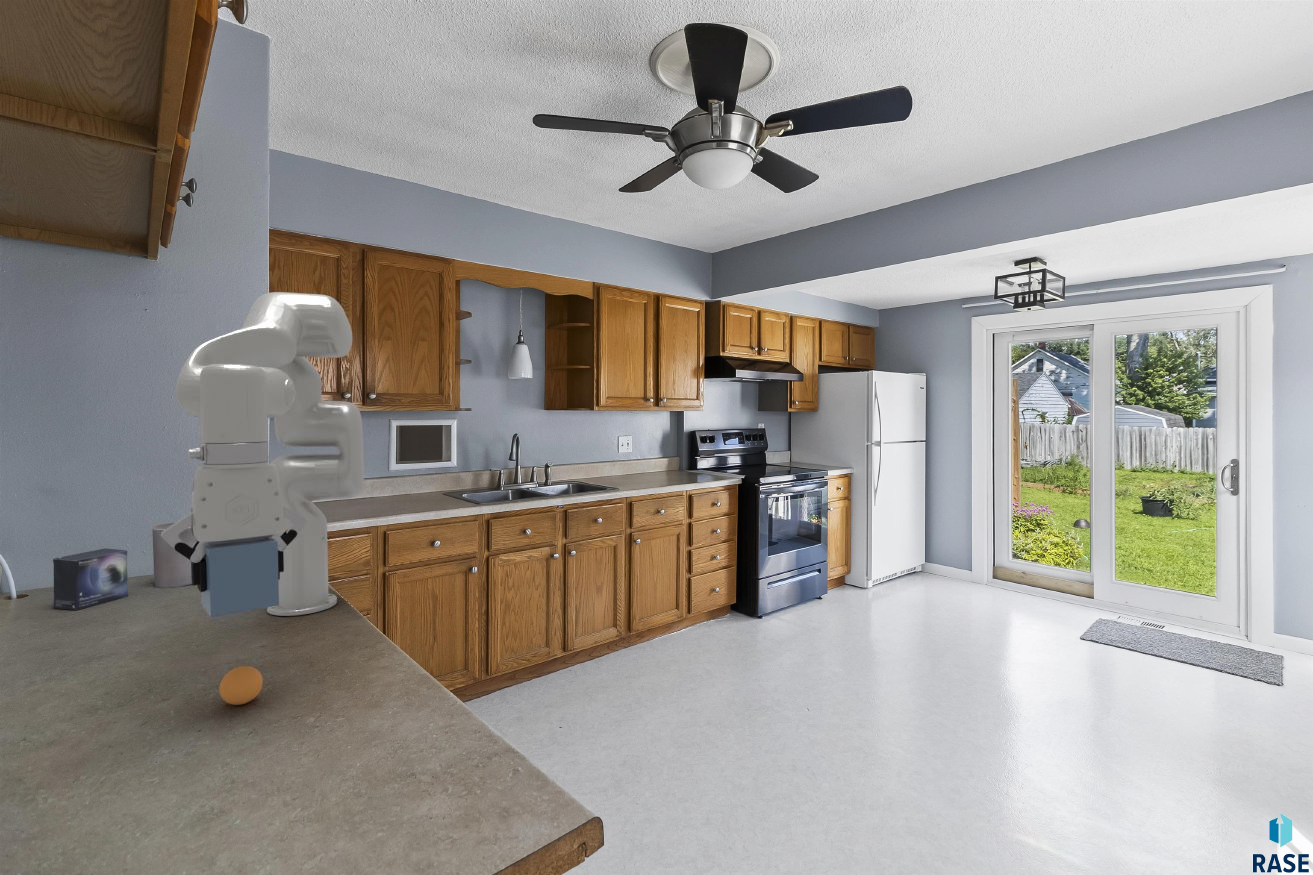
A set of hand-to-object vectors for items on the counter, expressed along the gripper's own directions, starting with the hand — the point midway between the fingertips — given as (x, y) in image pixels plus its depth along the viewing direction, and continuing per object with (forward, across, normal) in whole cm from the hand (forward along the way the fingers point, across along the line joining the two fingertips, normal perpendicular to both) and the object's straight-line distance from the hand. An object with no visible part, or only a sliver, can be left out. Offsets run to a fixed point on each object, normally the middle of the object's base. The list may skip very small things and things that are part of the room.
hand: (239, 583), depth 86 cm
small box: (+17, -14, +76) cm, 80 cm away
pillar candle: (+17, +2, +83) cm, 85 cm away
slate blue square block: (+3, 0, 0) cm, 3 cm away
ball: (+14, 0, 0) cm, 14 cm away
